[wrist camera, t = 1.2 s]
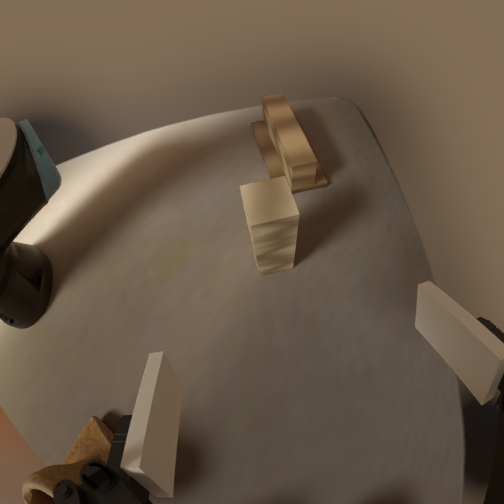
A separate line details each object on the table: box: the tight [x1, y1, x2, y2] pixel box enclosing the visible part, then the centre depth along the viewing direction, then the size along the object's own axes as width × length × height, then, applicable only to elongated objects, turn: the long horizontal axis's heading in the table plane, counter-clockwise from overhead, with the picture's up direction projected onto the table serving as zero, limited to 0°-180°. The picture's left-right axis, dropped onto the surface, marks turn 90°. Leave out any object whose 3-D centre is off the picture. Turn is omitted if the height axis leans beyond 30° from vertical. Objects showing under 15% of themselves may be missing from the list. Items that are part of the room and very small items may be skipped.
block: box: [240, 176, 299, 276], centre depth 34 cm, size 4×4×14 cm
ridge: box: [251, 94, 328, 194], centre depth 44 cm, size 16×8×6 cm, turn 13°
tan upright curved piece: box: [22, 416, 114, 504], centre depth 22 cm, size 15×12×15 cm
